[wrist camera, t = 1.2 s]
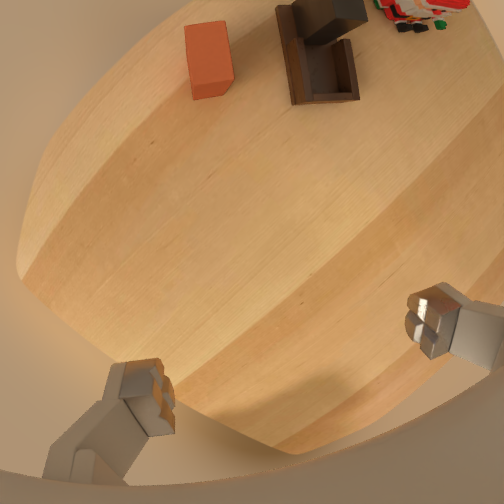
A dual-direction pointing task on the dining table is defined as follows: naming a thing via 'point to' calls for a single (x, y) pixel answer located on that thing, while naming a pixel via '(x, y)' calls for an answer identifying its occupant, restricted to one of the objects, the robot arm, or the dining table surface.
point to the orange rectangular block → (208, 59)
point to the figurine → (420, 12)
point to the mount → (320, 49)
